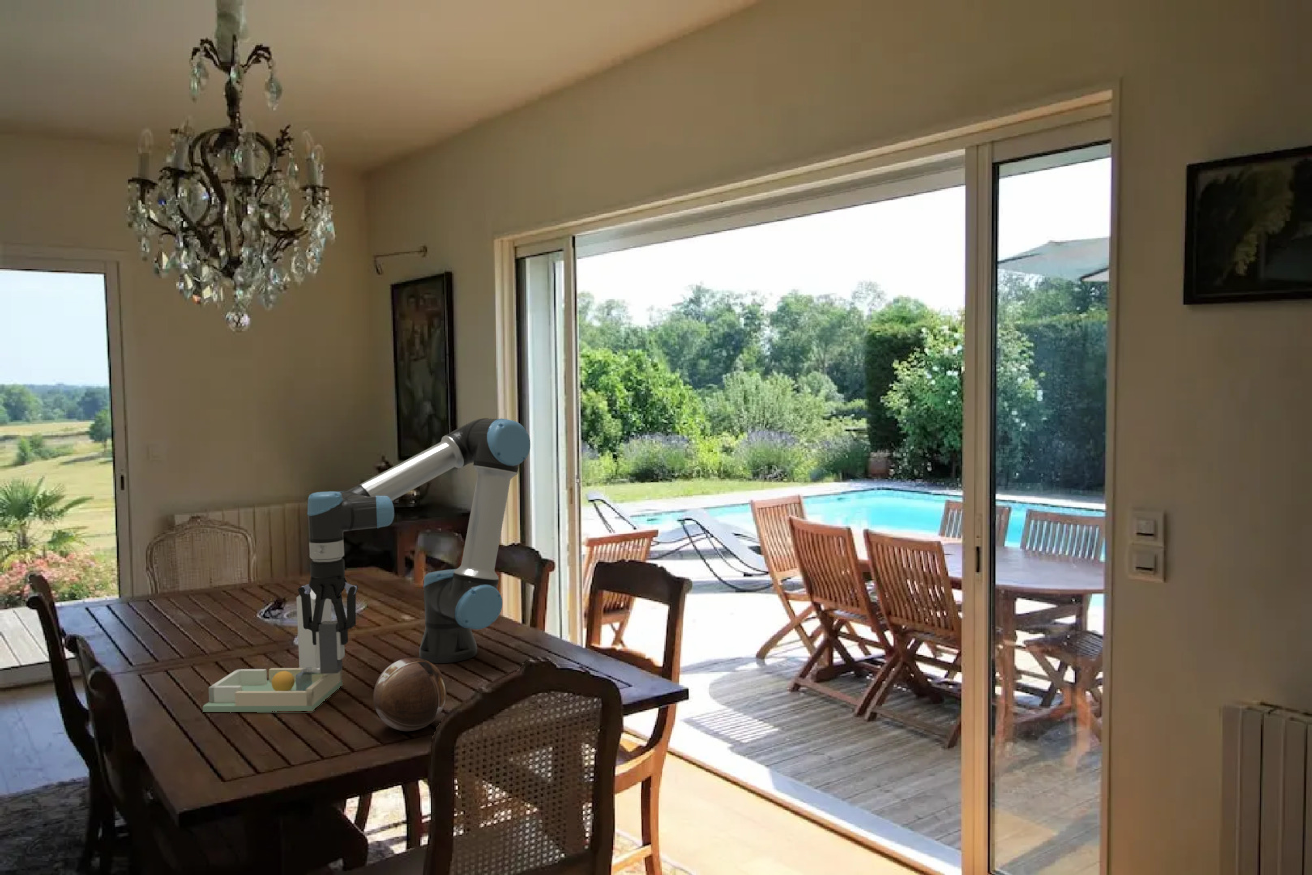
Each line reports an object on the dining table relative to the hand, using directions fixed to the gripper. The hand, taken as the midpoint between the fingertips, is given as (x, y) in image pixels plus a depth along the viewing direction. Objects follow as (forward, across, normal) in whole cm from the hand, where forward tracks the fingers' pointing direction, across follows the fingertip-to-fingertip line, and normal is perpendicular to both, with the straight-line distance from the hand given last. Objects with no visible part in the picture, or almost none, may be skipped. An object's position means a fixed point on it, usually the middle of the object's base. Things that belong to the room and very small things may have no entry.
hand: (330, 657), depth 217 cm
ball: (+6, -12, 0) cm, 13 cm away
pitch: (+10, -14, 0) cm, 17 cm away
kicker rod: (+8, -3, 0) cm, 8 cm away
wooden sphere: (+10, +24, -19) cm, 32 cm away
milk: (+10, -13, +24) cm, 29 cm away
